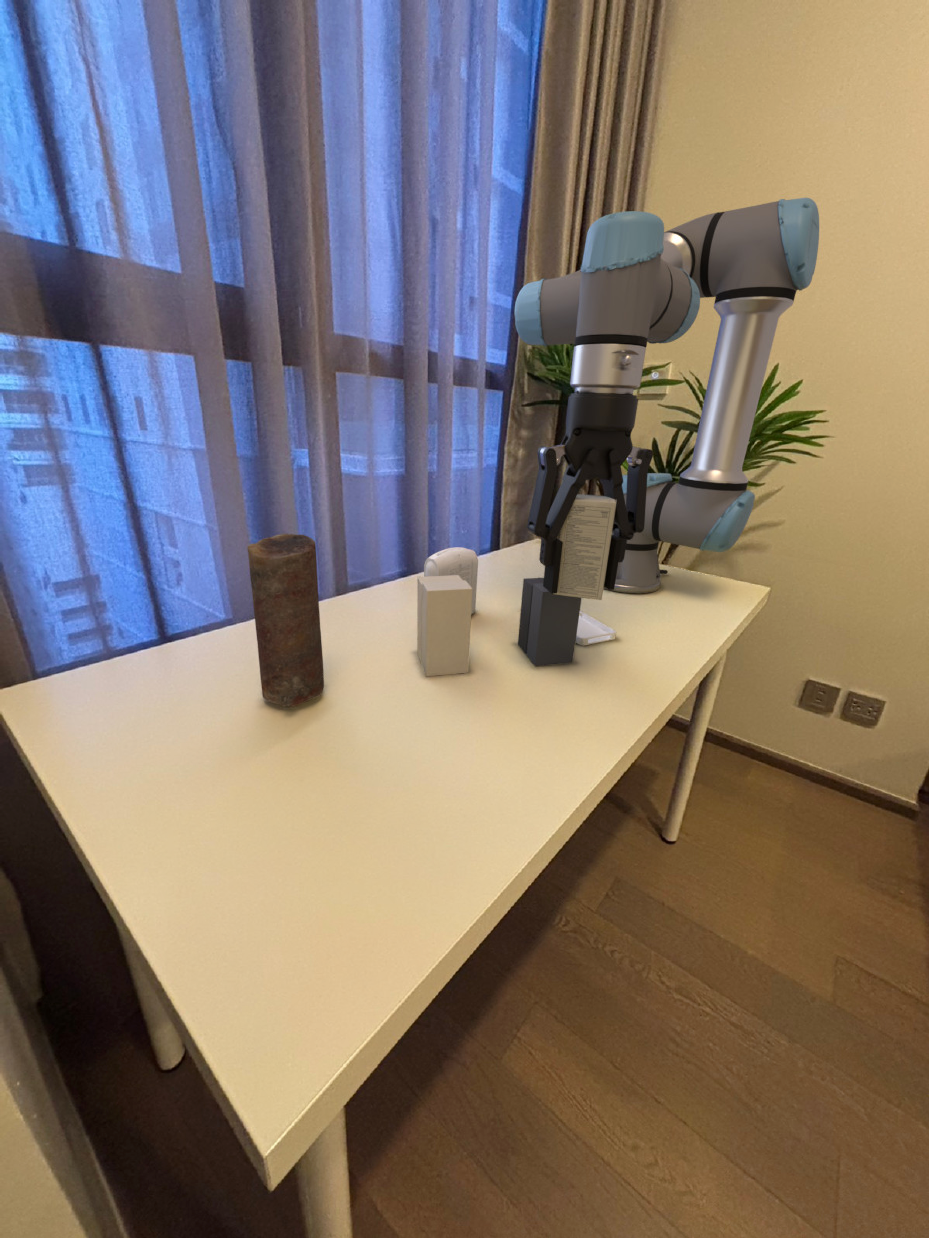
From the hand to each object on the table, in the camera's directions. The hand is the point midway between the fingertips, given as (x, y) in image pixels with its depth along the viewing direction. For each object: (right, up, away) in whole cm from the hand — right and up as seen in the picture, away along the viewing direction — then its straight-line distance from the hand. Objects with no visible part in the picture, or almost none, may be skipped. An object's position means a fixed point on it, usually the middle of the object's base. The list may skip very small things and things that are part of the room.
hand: (578, 587), depth 65 cm
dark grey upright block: (-2, -9, +12) cm, 16 cm away
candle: (-36, -14, -1) cm, 38 cm away
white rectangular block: (-18, -10, +9) cm, 22 cm away
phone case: (+4, -5, +23) cm, 24 cm away
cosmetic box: (0, -1, 0) cm, 1 cm away
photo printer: (-17, -4, +24) cm, 30 cm away
